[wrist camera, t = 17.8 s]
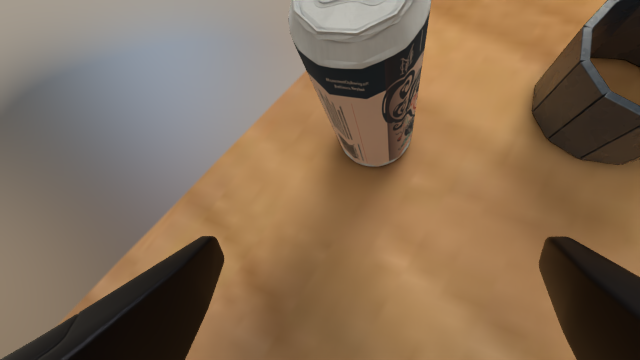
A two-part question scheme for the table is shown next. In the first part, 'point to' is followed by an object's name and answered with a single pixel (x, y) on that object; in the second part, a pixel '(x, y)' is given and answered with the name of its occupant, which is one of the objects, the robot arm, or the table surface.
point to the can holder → (593, 90)
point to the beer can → (364, 69)
